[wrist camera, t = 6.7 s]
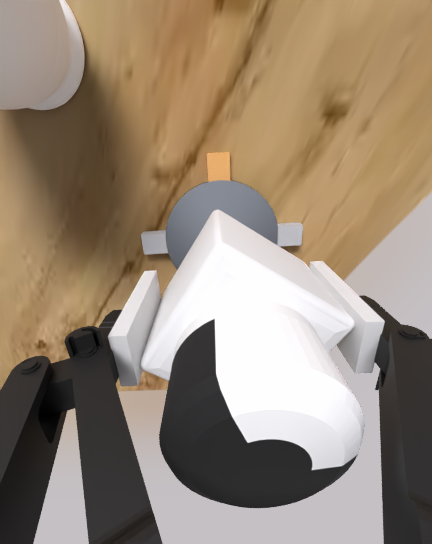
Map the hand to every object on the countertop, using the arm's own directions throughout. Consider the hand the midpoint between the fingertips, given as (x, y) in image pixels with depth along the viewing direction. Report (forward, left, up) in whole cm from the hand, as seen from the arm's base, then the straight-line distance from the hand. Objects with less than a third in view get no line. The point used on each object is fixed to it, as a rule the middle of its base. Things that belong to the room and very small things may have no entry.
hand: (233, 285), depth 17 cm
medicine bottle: (0, 0, -1) cm, 1 cm away
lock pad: (0, +1, -11) cm, 11 cm away
